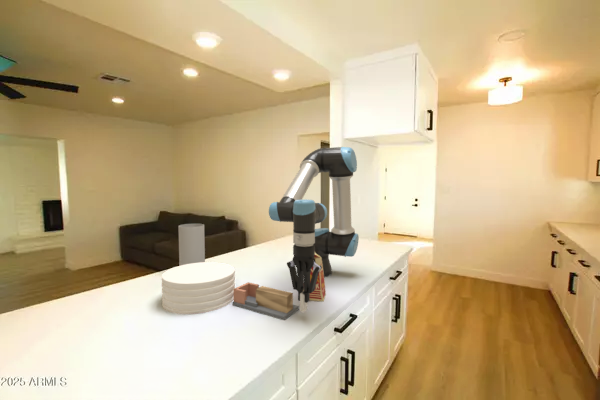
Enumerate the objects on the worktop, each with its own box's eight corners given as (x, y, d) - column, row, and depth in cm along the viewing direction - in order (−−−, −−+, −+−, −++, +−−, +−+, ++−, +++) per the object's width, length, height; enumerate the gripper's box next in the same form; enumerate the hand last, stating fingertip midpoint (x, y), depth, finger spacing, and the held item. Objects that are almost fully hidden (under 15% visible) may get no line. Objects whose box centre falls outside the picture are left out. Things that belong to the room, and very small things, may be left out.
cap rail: (249, 296, 122) (249, 281, 121) (298, 309, 110) (299, 293, 109) (232, 305, 113) (232, 289, 113) (284, 320, 101) (284, 302, 101)
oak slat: (262, 300, 114) (262, 285, 114) (292, 308, 107) (292, 292, 107) (255, 304, 111) (255, 289, 110) (286, 313, 104) (286, 296, 103)
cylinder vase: (210, 271, 154) (209, 224, 153) (189, 278, 144) (188, 228, 142) (194, 267, 161) (193, 223, 160) (174, 273, 151) (173, 225, 149)
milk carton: (323, 301, 117) (323, 252, 115) (300, 299, 119) (301, 251, 117) (326, 293, 126) (326, 247, 124) (305, 291, 127) (305, 246, 126)
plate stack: (248, 292, 126) (248, 266, 125) (201, 320, 101) (200, 288, 100) (199, 283, 138) (198, 259, 137) (146, 305, 112) (145, 276, 112)
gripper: (282, 244, 101) (282, 310, 103) (315, 248, 95) (315, 319, 96) (293, 240, 108) (293, 302, 109) (325, 244, 101) (325, 310, 103)
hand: (303, 310), depth 103 cm, fingers closed
